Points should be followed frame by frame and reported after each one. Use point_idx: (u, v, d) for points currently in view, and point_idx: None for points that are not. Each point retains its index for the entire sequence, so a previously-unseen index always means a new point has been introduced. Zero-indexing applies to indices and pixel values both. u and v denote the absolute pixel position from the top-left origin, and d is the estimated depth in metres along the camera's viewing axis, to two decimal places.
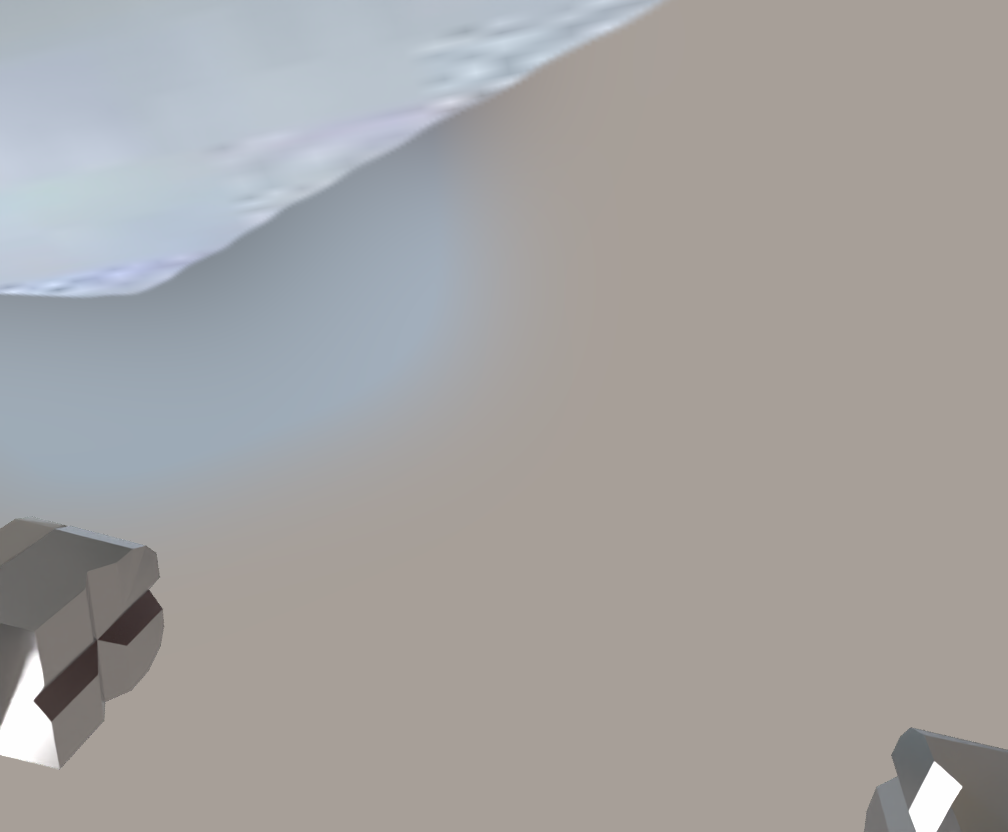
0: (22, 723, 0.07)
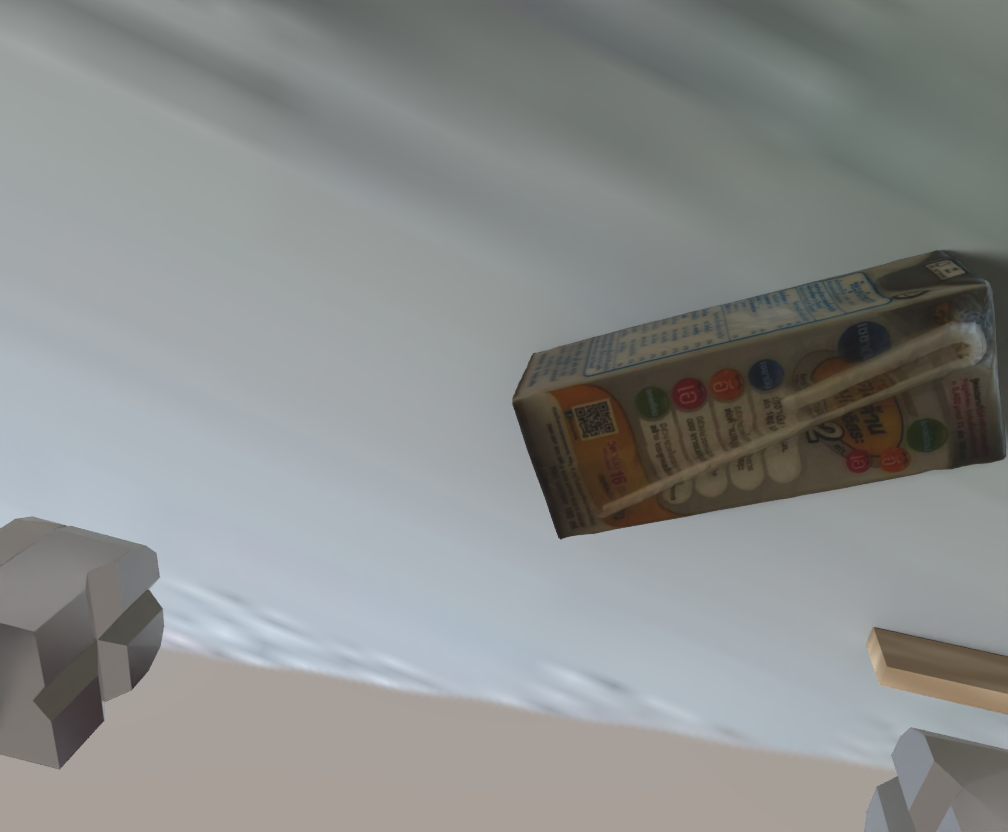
0: (22, 723, 0.07)
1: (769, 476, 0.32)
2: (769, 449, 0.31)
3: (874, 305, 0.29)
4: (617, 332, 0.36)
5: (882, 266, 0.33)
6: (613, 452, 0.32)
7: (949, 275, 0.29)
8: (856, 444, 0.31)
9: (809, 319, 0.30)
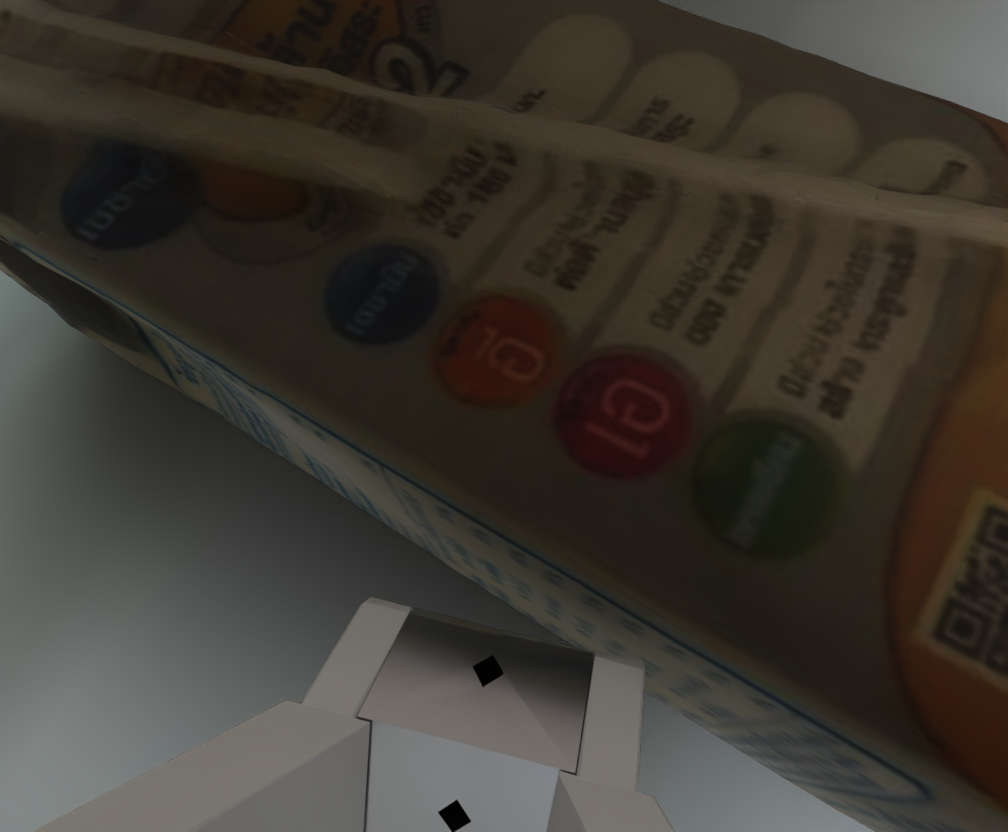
0: None
1: (632, 57, 0.10)
2: (567, 116, 0.10)
3: (47, 263, 0.10)
4: (708, 729, 0.11)
5: (155, 375, 0.15)
6: None
7: None
8: (383, 5, 0.11)
9: (187, 351, 0.09)
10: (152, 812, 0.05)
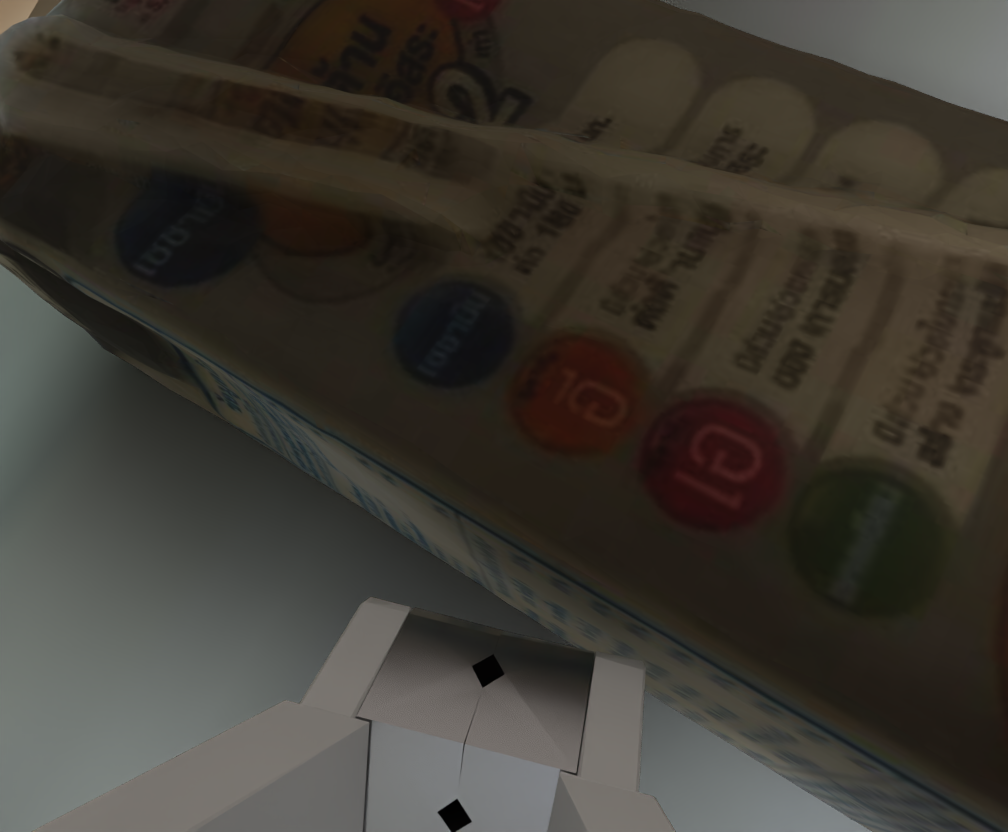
0: None
1: (701, 84, 0.10)
2: (636, 145, 0.09)
3: (101, 299, 0.09)
4: (771, 768, 0.11)
5: (193, 400, 0.14)
6: None
7: (4, 258, 0.11)
8: (440, 28, 0.10)
9: (248, 390, 0.09)
10: (152, 812, 0.05)
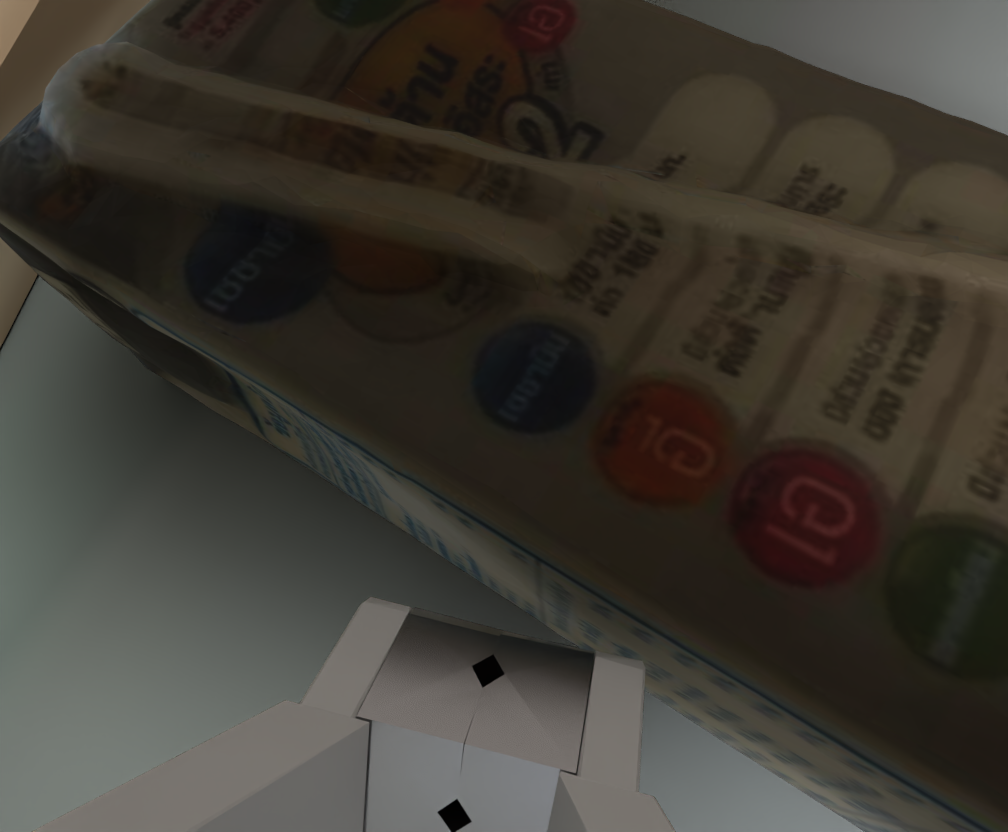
0: None
1: (776, 122, 0.09)
2: (713, 183, 0.09)
3: (168, 332, 0.09)
4: (829, 807, 0.11)
5: (237, 422, 0.14)
6: None
7: (60, 284, 0.11)
8: (507, 60, 0.10)
9: (318, 428, 0.09)
10: (151, 811, 0.05)
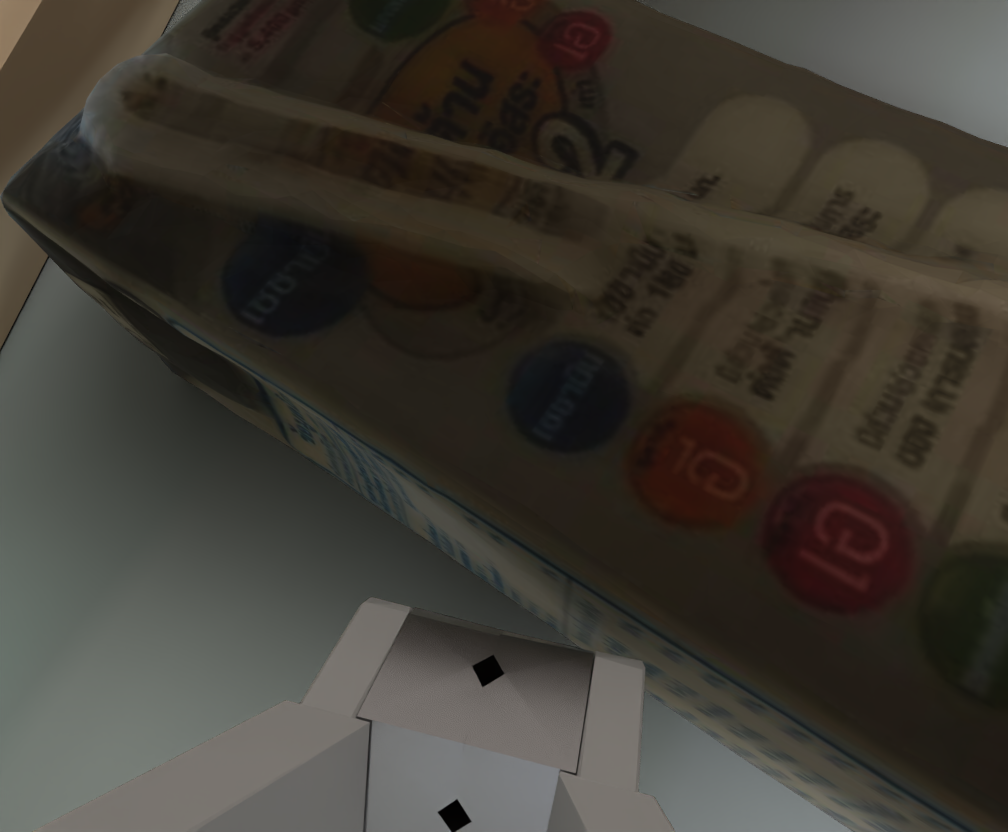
0: None
1: (811, 144, 0.09)
2: (747, 204, 0.09)
3: (203, 342, 0.09)
4: (847, 826, 0.11)
5: (261, 427, 0.14)
6: None
7: (95, 290, 0.11)
8: (543, 77, 0.10)
9: (351, 440, 0.09)
10: (151, 812, 0.05)
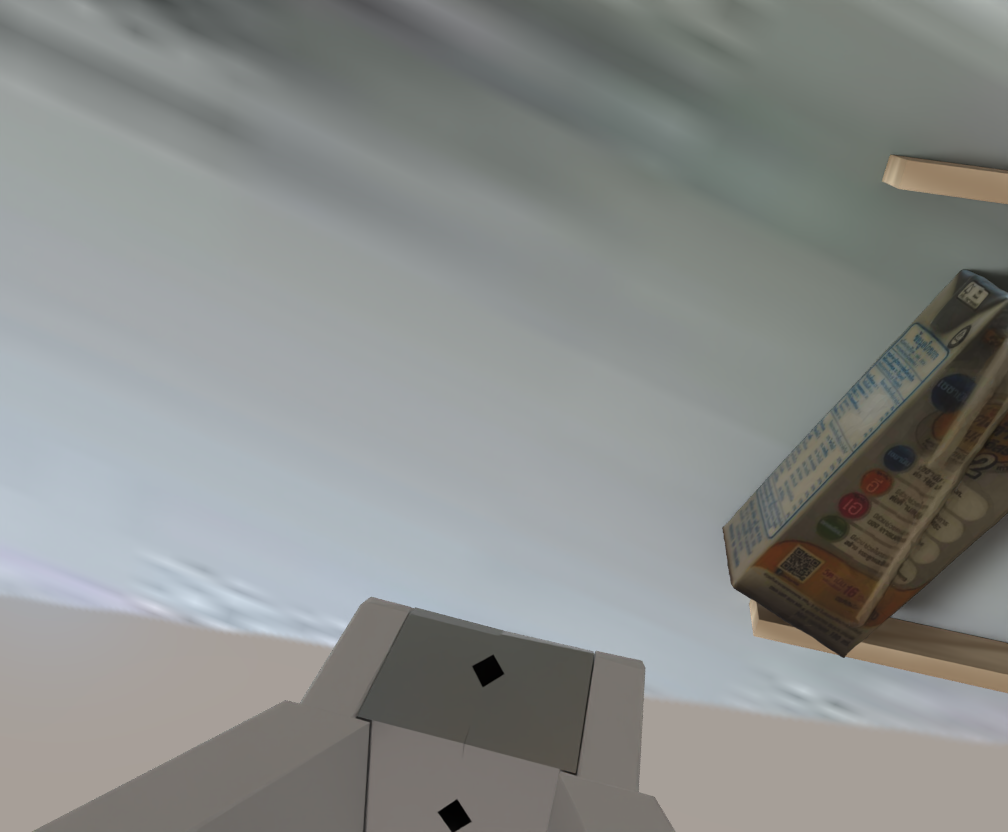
0: None
1: (965, 520, 0.36)
2: (948, 502, 0.36)
3: (938, 363, 0.34)
4: (770, 477, 0.42)
5: (928, 308, 0.38)
6: (832, 577, 0.38)
7: (978, 302, 0.34)
8: None
9: (899, 400, 0.35)
10: (152, 812, 0.05)
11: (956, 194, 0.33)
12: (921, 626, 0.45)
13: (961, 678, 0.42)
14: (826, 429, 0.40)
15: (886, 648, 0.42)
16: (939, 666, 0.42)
